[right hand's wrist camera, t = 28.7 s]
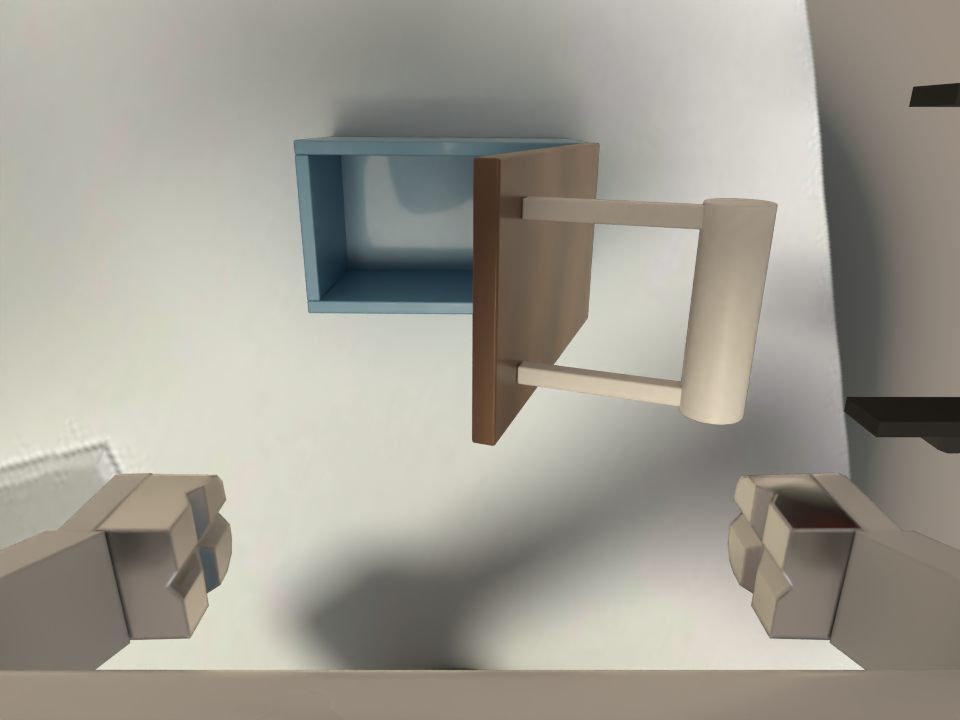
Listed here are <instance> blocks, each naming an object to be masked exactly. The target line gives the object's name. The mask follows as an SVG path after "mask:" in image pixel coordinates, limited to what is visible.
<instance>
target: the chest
mask: <svg viewBox="0 0 960 720" xmlns="http://www.w3.org/2000/svg"><path fill="white" fill-rule="evenodd" d="M580 143H588V142H583V141H577V140H572V139H567V138H449V137H322V138H312V139H302V140H295V141H294V150H295V154H296V155H295V163H296V174H297V186H298V197H299V209H300V221H301V232H302V244H303V255H304V267H305V278H306V290H307V300H308V312H309V313H378V314H473V160H474V158H475V157H481V156H488V155H496V154H504V153H511V152H519V151H527V150H534V149H542V148H550V147H557V146H565V145H573V144H580Z"/></svg>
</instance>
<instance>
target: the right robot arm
mask: <svg viewBox="0 0 960 720" xmlns="http://www.w3.org/2000/svg"><path fill="white" fill-rule="evenodd" d="M225 501H226V496H225V491H224V486H223V481H222V480H221V479H220V478H219V477H218V476H217V475H194V474H151V473H136V474H119V475H115V476H114V477H113V478H112V479H111V480H110V481H109V482H108V483H107V484H106V485H105V486H103V487H102V488H101V489H100V490H99V491H98V492H97V493H96V494H95V495H94V496H93V497H92V498H91V499H90V500H89V501H88V502H87V503H86V504H85V505H84V506H82V507H81V508H80V509H79V510H78V511H77V512H76V513H75V514H74V515H73V516H72V517H71V518H70V519H69V520H68V521H67V522H66V523H65V524H64V525H63V526H61V527H60V528H59V529H58V530H57V531H45V532H43V533H40V534H38V535H36V536H33V537H31V538H28V539H26V540H24V541H21V542H19V543H17V544H14V545H12V546H10V547H7V548H5V549H2V550H0V720H960V550H957V549H955V548H953V547H950V546H948V545H946V544H943V543H941V542H938V541H936V540H934V539H931V538H929V537H927V536H924V535H922V534H920V533H917V532H915V531H903V530H902V529H901V528H900V527H899V526H898V525H896V524H895V523H894V522H893V521H892V520H891V519H890V518H889V517H888V516H887V515H886V514H885V513H884V512H883V511H882V510H881V509H880V508H879V507H878V506H877V505H875V503H873V502H872V501H871V500H870V499H869V498H868V497H867V496H866V495H865V494H864V493H863V492H862V491H861V490H860V489H859V488H858V487H857V486H856V485H855V484H854V483H853V482H851V481H850V480H849V479H848V478H847V477H846V476H845V475H842V474H839V473H824V474H784V475H747V476H740V478H739V481H738V483H737V485H736V490H735V496H734V501H735V503H736V504H737V506H738V507H739V509H740V510H741V513H740V515H739V516H738V517H737V518H736V519H735V520H734V521H733V522H732V523H731V524H730V528H729V537H728V551H729V561H730V564H731V567H732V570H733V573H734V575H735V577H736V579H737V581H738V583H739V585H741V586H742V587H744V588H745V589H747V590H748V591H750V592H752V593H753V598H752V604H751V606H752V608H753V610H754V611H755V613H756V615H757V617H758V618H759V620H760V622H761V624H762V625H763V627H764V629H765V630H766V632H767V634H768V636H769V637H770V638H776V639H813V640H830V643H831V644H832V645H833V646H835V647H836V648H837V649H839V650H840V651H841V652H843V653H844V654H845V655H847V656H848V657H849V658H850V659H852V660H853V661H854V662H856V663H857V664H858V665H860V666H861V667H862V668H864V669H865V670H95V669H97V668H98V667H99V666H101V665H102V664H103V663H104V662H106V661H107V660H108V659H110V658H111V657H112V656H114V655H115V654H116V653H118V652H119V651H120V650H122V649H123V648H124V647H125V646H127V645H128V644H129V643H130V640H146V639H182V638H191V636H192V634H193V632H194V631H195V629H196V627H197V625H198V624H199V622H200V620H201V618H202V617H203V615H204V613H205V611H206V610H207V608H208V606H209V604H208V598H207V593H208V592H210V591H212V590H213V589H215V588H216V587H218V586H219V585H221V583H222V581H223V579H224V577H225V575H226V573H227V571H228V567H229V563H230V558H231V554H232V535H231V528H230V524H229V523H228V522H227V521H226V520H225V519H224V518H223V517H222V516H221V515H220V513H219V510H220V509H221V507H222V506H223V504H224V503H225Z"/></svg>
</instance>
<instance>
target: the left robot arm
mask: <svg viewBox="0 0 960 720" xmlns="http://www.w3.org/2000/svg"><path fill="white" fill-rule="evenodd" d="M909 107H960V83H954V84H942V85H930V86H917V87H913V91H912V96H911V100H910V105H909ZM844 412H845V413H847V414H848V415H849V416H850V417H852V418H853V419H854V420H855V421H857V422H858V423H859V424H861V425H862V426H863V427H864V428H866V429H867V430H868V431H869V432H871V433H872V434H873V435H874V436H876V437H921V438H922V439H924V440H925V441H927V442H928V443H929V444H931V445H932V446H934V447H935V448H936V449H938V450H940V451H943V452H945V453H960V397H847V400H846V404H845V409H844Z"/></svg>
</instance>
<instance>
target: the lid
mask: <svg viewBox="0 0 960 720" xmlns="http://www.w3.org/2000/svg"><path fill="white" fill-rule="evenodd" d="M599 147H600V145H599V143H580V144H573V145H565V146H557V147H550V148H542V149H534V150H527V151H519V152H511V153H504V154H496V155H488V156H481V157H475V158H474V160H473V360H472V441H473V442H474V443H480V444H485V445H491V446H494V445H495V444H496V443H497V441H498V440H499V439H500V437H501V436H502V435H503V433H504V432H505V431H506V429H507V428H508V426H509V425H510V424H511V422H512V421H513V420H514V418H515V417H516V415H517V414H518V413H519V411H520V410H521V409H522V407H523V406H524V405H525V403H526V402H527V400H528V399H529V398H530V396H531V395H532V394H533V392H534V391H535V389H536V388H537V387H538V386H539V387H546V388H553V389H560V390H567V391H574V392H581V393H589V394H596V395H603V396H610V397H617V398H624V399H631V400H638V401H645V402H652V403H659V404H667V405H674V406H678V408H679V411H680V412H681V413H682V414H683V415H685V416H686V417H688V418H690V419H693V420H696V421H699V422H703V423H708V424H717V425H725V424H733V423H736V422H739V421H740V420H741V419H742V418H743V416H744V410H745V403H746V397H747V391H748V385H749V379H750V373H751V366H752V360H753V354H754V348H755V342H756V336H757V329H758V323H759V317H760V311H761V305H762V299H763V292H764V286H765V280H766V274H767V268H768V262H769V255H770V249H771V243H772V237H773V231H774V225H775V218H776V212H777V206H778V205H777V204H776V203H774V202H770V201H764V200H754V199H738V198H716V199H707V200H704V202H703V204H686V203H664V202H642V201H620V200H599V199H596V191H597V176H598V161H599ZM594 223H598V224H616V225H633V226H651V227H668V228H685V229H700V232H699V240H698V248H697V257H696V265H695V273H694V281H693V289H692V297H691V305H690V313H689V321H688V330H687V338H686V346H685V354H684V362H683V370H682V378H681V382H680V381H672V380H664V379H656V378H649V377H641V376H633V375H625V374H618V373H610V372H602V371H595V370H587V369H579V368H571V367H564V366H556V365H554V363H555V362H556V361H557V359H558V358H559V357H560V355H561V354H562V353H563V351H564V350H565V348H566V347H567V346H568V344H569V343H570V342H571V340H572V339H573V337H574V336H575V335H576V333H577V332H578V331H579V329H580V328H581V327H582V325H583V324H584V322H585V321H586V320H587V318H588V309H589V294H590V280H591V265H592V250H593V235H594Z"/></svg>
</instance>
